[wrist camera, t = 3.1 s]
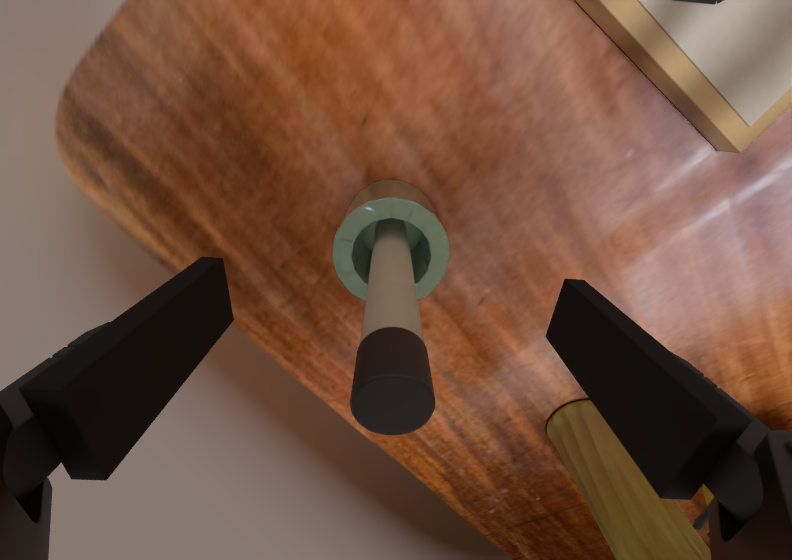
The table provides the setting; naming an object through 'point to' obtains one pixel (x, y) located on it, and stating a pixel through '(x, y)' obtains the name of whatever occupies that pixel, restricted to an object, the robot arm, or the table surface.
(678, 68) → the sketch board
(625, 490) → the vase
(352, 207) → the pencil pot
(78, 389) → the robot arm
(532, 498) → the table surface
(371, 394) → the pen
